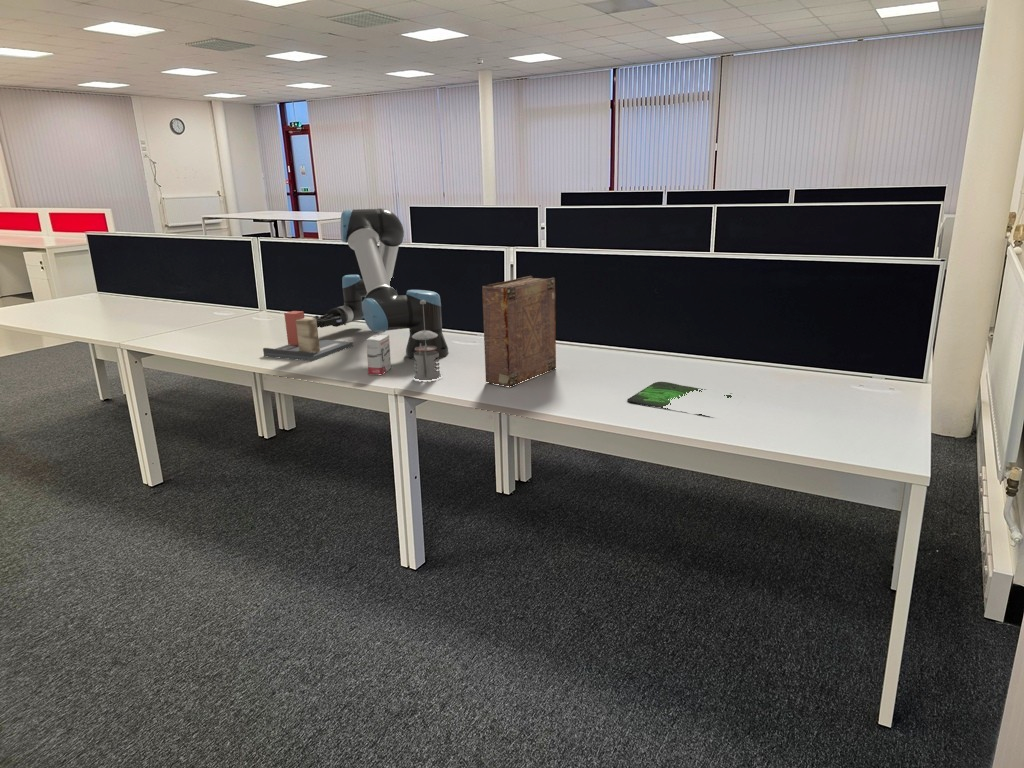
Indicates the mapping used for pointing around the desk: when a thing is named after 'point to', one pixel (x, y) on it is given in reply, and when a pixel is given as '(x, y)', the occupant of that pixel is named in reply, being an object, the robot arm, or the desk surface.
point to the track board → (294, 353)
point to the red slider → (292, 326)
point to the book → (519, 329)
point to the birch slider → (308, 335)
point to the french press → (426, 355)
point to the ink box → (378, 354)
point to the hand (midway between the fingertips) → (301, 327)
